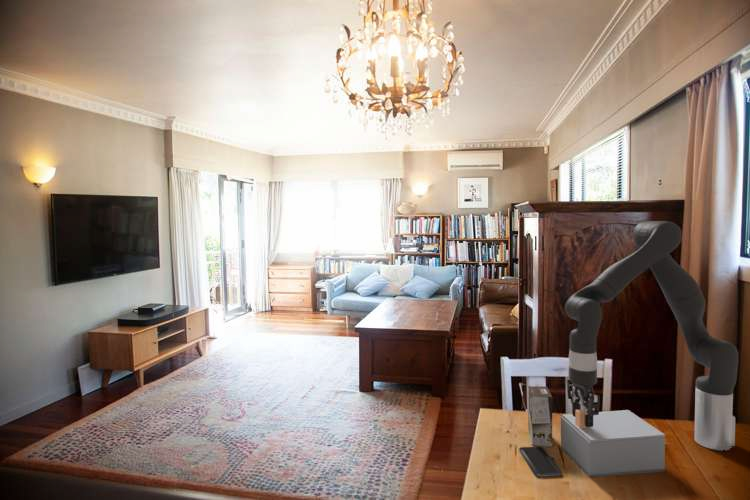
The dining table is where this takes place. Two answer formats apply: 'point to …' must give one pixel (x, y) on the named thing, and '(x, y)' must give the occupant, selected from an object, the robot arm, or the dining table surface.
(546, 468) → the phone
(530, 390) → the coffee box
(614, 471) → the carton box
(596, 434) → the grey box lid
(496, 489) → the dining table surface
